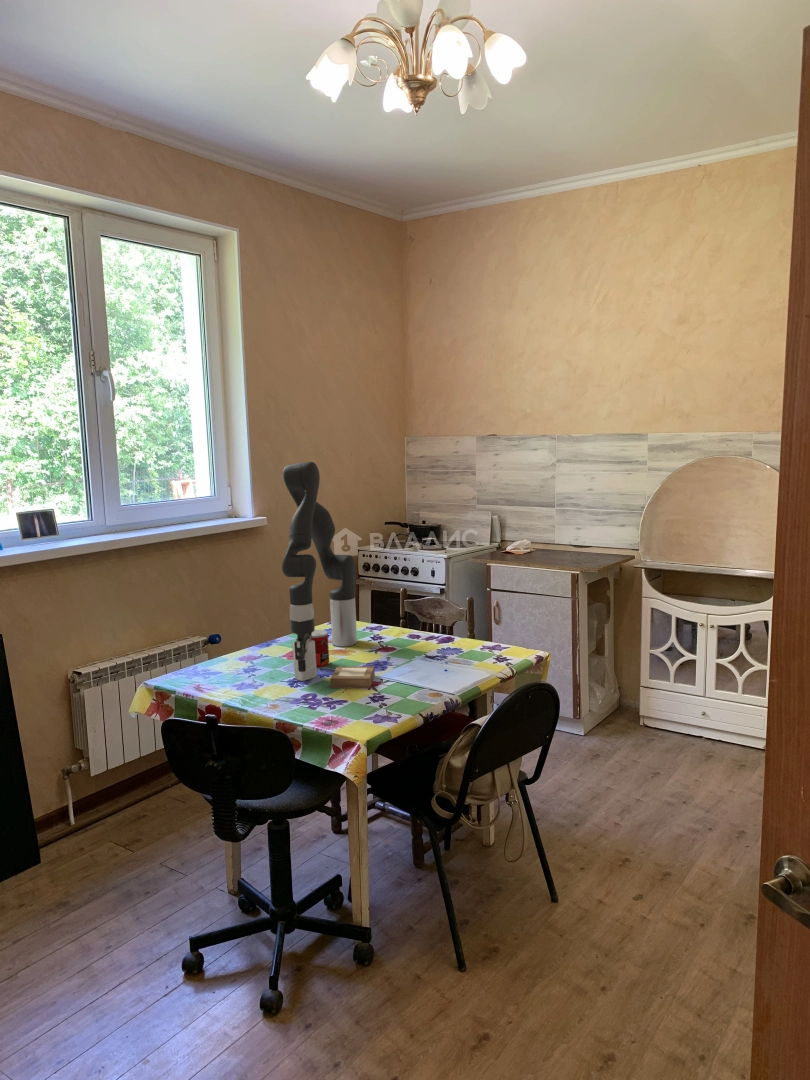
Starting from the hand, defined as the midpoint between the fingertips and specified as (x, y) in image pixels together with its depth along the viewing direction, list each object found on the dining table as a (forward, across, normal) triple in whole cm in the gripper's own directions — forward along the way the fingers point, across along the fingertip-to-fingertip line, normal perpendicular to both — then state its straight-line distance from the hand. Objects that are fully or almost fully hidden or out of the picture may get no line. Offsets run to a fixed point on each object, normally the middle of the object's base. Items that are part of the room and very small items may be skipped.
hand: (304, 667), depth 237 cm
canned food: (+4, -14, +1) cm, 14 cm away
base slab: (+3, +4, +16) cm, 17 cm away
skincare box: (+4, 0, 0) cm, 4 cm away
